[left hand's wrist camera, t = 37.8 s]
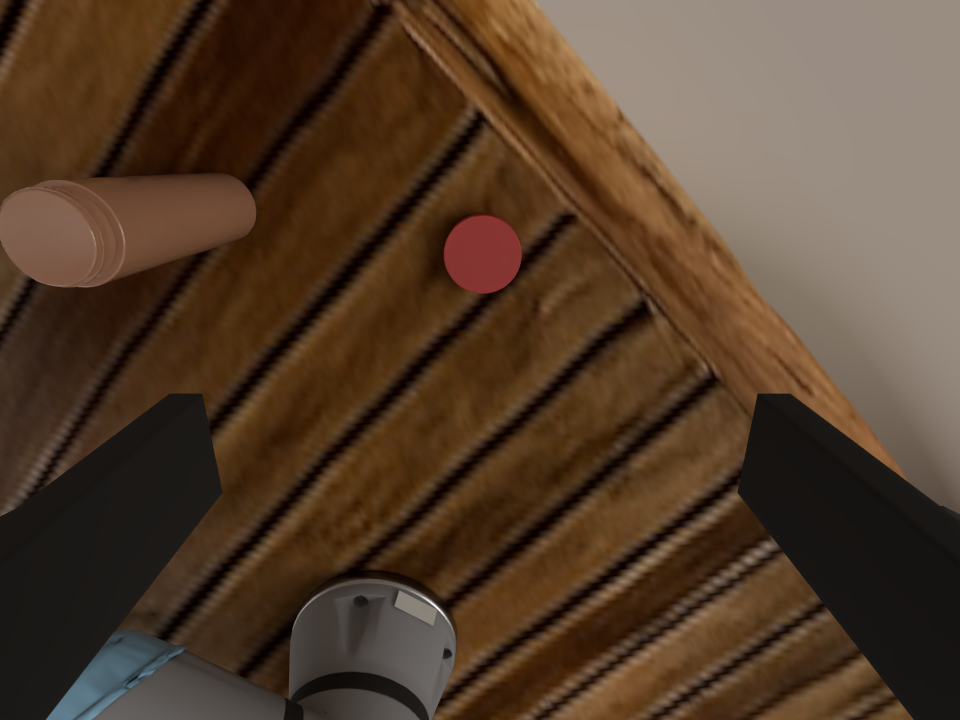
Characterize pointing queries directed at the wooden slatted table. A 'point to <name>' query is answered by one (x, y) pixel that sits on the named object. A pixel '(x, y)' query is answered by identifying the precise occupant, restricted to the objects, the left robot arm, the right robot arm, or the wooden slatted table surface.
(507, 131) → the wooden slatted table surface
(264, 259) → the wooden slatted table surface
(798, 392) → the wooden slatted table surface
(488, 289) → the lid
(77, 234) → the jar
